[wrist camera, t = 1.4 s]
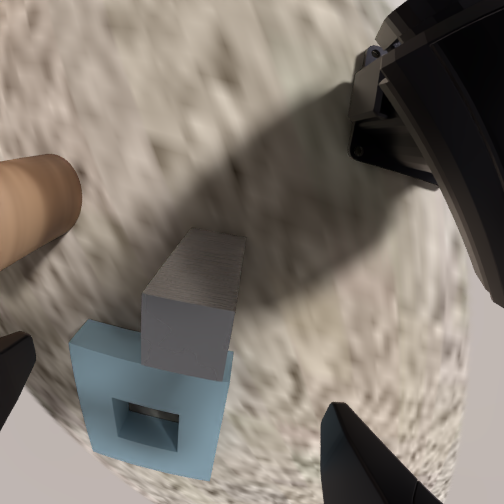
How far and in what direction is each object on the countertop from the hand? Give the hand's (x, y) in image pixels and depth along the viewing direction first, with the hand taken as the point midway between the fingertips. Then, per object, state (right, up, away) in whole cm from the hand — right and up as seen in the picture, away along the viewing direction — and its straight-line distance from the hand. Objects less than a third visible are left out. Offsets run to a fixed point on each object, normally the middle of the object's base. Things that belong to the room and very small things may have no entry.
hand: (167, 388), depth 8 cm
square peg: (0, +3, +10) cm, 10 cm away
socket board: (-5, -7, +14) cm, 16 cm away
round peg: (-10, +7, +9) cm, 15 cm away
